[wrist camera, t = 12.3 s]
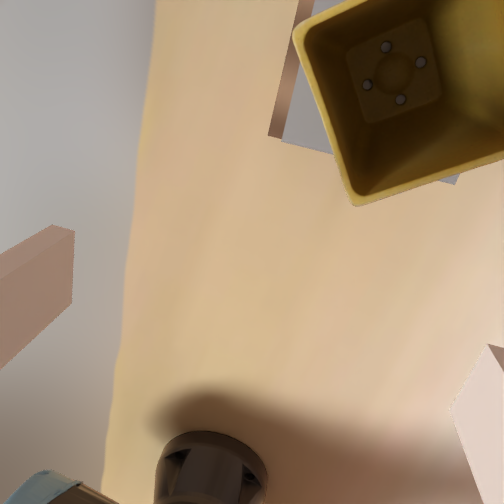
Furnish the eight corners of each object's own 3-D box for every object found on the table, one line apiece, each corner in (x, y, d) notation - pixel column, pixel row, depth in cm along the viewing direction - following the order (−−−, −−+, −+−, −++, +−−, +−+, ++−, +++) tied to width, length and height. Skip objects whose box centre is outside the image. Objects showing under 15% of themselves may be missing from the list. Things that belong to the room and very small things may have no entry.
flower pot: (485, 116, 26) (550, 146, 18) (347, 166, 29) (351, 210, 21) (452, -38, 23) (512, -84, 15) (303, 34, 26) (287, 27, 18)
